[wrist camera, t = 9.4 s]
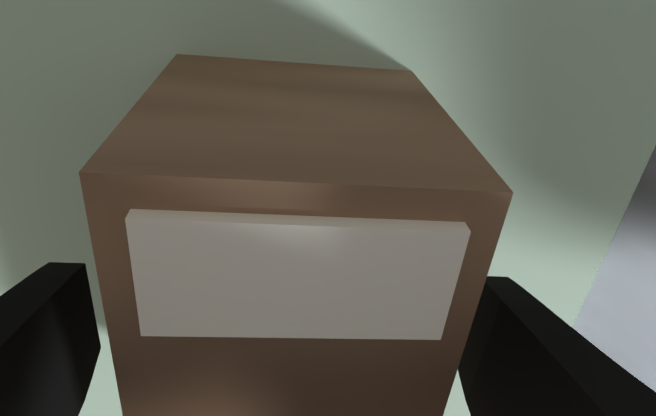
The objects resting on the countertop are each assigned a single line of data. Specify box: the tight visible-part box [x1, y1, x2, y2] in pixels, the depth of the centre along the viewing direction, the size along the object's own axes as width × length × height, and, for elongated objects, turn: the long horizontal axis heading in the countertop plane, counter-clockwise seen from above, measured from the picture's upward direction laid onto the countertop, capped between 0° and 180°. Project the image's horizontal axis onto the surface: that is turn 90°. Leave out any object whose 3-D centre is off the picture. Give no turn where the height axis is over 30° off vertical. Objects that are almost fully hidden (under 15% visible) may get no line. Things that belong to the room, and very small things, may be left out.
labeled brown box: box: [79, 54, 513, 416], centre depth 9 cm, size 8×4×5 cm, turn 175°
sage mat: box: [0, 0, 656, 416], centre depth 12 cm, size 16×14×1 cm
